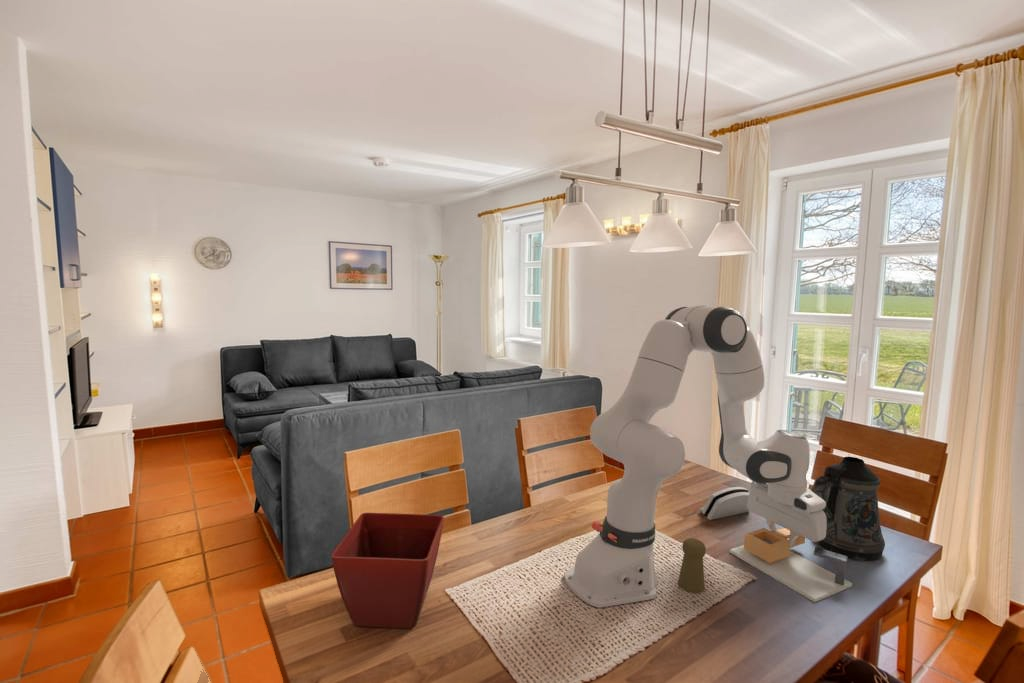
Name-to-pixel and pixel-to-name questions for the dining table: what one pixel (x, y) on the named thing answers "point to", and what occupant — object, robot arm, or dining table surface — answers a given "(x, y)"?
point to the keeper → (837, 558)
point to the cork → (692, 566)
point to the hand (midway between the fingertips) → (781, 541)
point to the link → (770, 551)
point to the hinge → (726, 503)
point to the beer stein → (851, 510)
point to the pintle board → (796, 573)
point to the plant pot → (387, 567)
